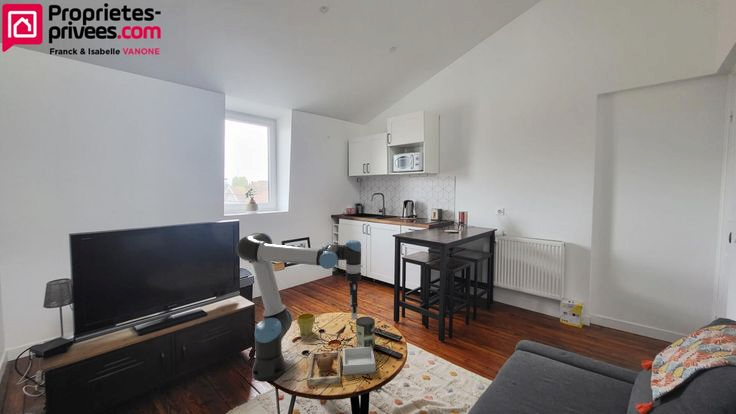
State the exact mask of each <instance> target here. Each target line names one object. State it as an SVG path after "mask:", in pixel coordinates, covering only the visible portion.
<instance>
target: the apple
mask: <svg viewBox="0 0 736 414" xmlns="http://www.w3.org/2000/svg"><path fill="white" fill-rule="evenodd" d="M334 362H335V360H334V357H332V355H331V354H328V353H324V354H321V355H319V356H318V358H316V366H317V368H318V370H319V371H321V372H327V371H329V370H331V369H332V367H333V366H334Z"/></svg>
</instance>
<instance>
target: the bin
mask: <svg viewBox="0 0 736 414" xmlns="http://www.w3.org/2000/svg"><path fill="white" fill-rule="evenodd" d="M376 371H377V370H376V360H375V355H374V348H373V349H372V346H371V347H357V346H355V347H343V348H342V373H343V376H350V375H351V376H352V375H364V374H365V375H367V374H376Z"/></svg>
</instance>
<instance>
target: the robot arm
mask: <svg viewBox="0 0 736 414" xmlns="http://www.w3.org/2000/svg"><path fill="white" fill-rule="evenodd" d="M235 249H236V255H237V256H238V257H239V258H240V259H241V260H243V261H246V262H248V263H249V264H250V265H252V266H253V271H254V274H255V277H256V281H257V284H258V285H257V286H258V289H259V293H260V295H261V300H262V304H263V307H264V311H263V313H262V315H263V320H261V321H260V320H259V321H258V323H257V324H256V325H255V328H254V345H255V360H254V363H253V365H252V366H253V367H252V370H251V372H252V374H251V375H252V378H253V380H255V381H256V382H257V381H258V382H262V383H265V382H271V381H275V380H277V379H279V378H281V377H282V376H283V375H284V374H285V373H286V370H287V363H286V361H285V357H284V355H283V352H282V351H283V348H282V342H283V341H282V340H283V339H284V337H285V336H286V334H287V333H288V331H289V330H290V328H291V327H292V324H293V315H292V312H290V311H289V310H288V309H287V306H286V304H284V303H283V302H282V299H281V295H280V291H279V288H278V284H277V278H276V276H275V272H274V269H273V268H274V267H273V266H272V262H279V263H288V264H300V265H307V266H308V265H309V266H319V267H322V269H324V270H325V269H326V270H330V269H333V268H334V267H335V266H336V265H337V263H338V261H346V262H345V272H346V273H345V279H346V280H347V282H348V281H349V282H348V283H349V309H351V320H356V319H358V305H359V304H358V285H359V284H358V281H361V280H362V267H363V265H362V243H361V242H360V241H359V240H355V239H354V240H347V241H346V242H345V244H330V243H329V244H323V245H322V248H314V247H313V248H312V247H301V246H291V245H283V244H273V241H272V238H271V237H270V235H268V234H267V233H265V232H263V231H259V232H253V233H252V234H251V233H250V234H249V235H247V236H244V237H242V238H241V239H240V240H239V241H238V242H237V243H236V247H235Z"/></svg>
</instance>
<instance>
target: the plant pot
mask: <svg viewBox="0 0 736 414" xmlns="http://www.w3.org/2000/svg"><path fill="white" fill-rule="evenodd" d="M315 321H316V315H315V314H314V313H311V312H305V313H301V314H299V315H297V317H296V323H297V324H298V328H299V332H300V334H301V335H302V336H303V335H305V336H308V335H310V334H311V333H312V332H313V328H314V323H315Z"/></svg>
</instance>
